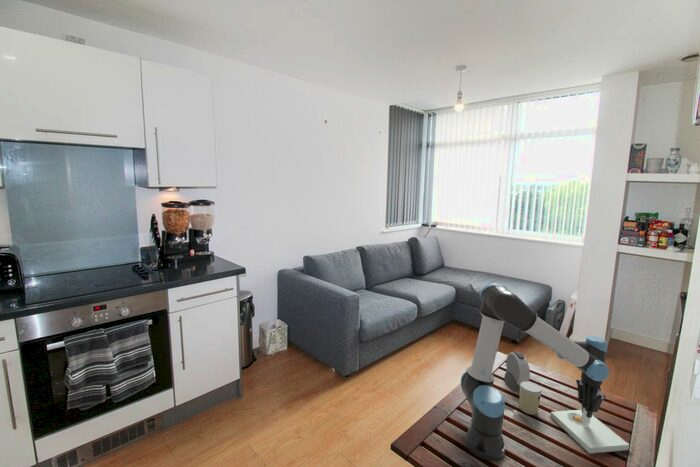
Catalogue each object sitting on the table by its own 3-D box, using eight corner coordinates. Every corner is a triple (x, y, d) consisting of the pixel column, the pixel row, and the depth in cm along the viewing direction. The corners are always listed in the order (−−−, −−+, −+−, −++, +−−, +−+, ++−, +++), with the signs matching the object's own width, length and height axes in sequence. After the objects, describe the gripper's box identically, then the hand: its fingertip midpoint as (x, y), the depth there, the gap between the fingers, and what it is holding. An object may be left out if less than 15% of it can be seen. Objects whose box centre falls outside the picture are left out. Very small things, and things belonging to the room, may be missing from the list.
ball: (578, 423, 150) (575, 414, 152) (573, 425, 152) (570, 416, 154) (585, 424, 150) (582, 415, 152) (579, 425, 153) (576, 417, 155)
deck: (628, 450, 138) (629, 444, 137) (589, 453, 135) (590, 447, 135) (584, 414, 159) (585, 409, 159) (550, 416, 157) (550, 411, 156)
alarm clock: (533, 393, 174) (536, 361, 172) (513, 393, 174) (516, 360, 172) (517, 376, 190) (521, 346, 188) (500, 375, 190) (503, 345, 188)
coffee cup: (542, 417, 156) (545, 393, 155) (520, 414, 158) (523, 390, 156) (535, 404, 165) (538, 382, 164) (515, 401, 167) (517, 379, 166)
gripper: (613, 380, 139) (606, 432, 142) (587, 364, 152) (581, 411, 155) (598, 381, 138) (590, 433, 141) (572, 365, 151) (566, 412, 154)
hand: (585, 422), depth 148 cm, fingers closed
